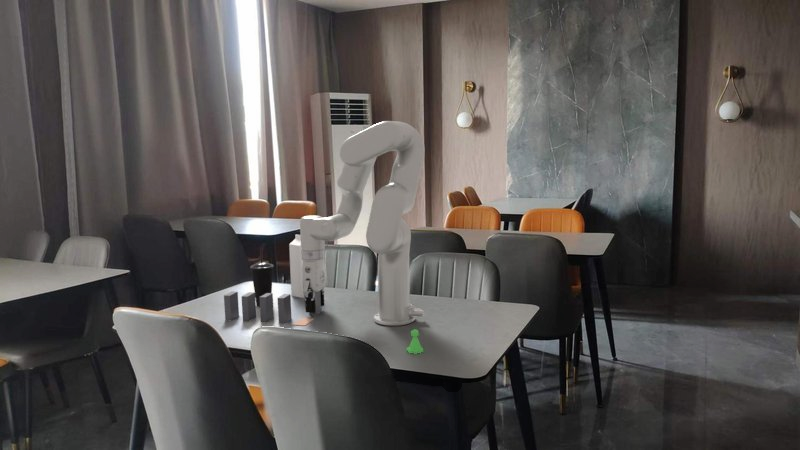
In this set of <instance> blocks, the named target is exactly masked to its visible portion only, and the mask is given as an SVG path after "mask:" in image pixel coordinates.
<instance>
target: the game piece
mask: <svg viewBox="0 0 800 450" xmlns="http://www.w3.org/2000/svg"><path fill="white" fill-rule="evenodd" d="M410 334H411V338H412V339H411V342H410V344H409V346H408V347H406V352H407V351H408V352H409V353H408V352H407V353H408V354H410V353H414V354H413V355H418V354H417V353H420V354H422V353H423V352H424V347H422V345H421V343H420V340H419V337H418V336H420V333H419V330H418V329H417V328H416V329H415V328H414V329H412V330H410ZM421 352H422V353H421Z"/></svg>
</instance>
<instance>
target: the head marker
mask: <svg viewBox="0 0 800 450" xmlns="http://www.w3.org/2000/svg"><path fill="white" fill-rule="evenodd" d="M312 321H314V318H310V317H309V318H307V317H301V318H300V319H298V320H297V321H296V322H294V323H293V324H292V326H301V327H306V326H307V325H308V324H310V323H311V322H312Z"/></svg>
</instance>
